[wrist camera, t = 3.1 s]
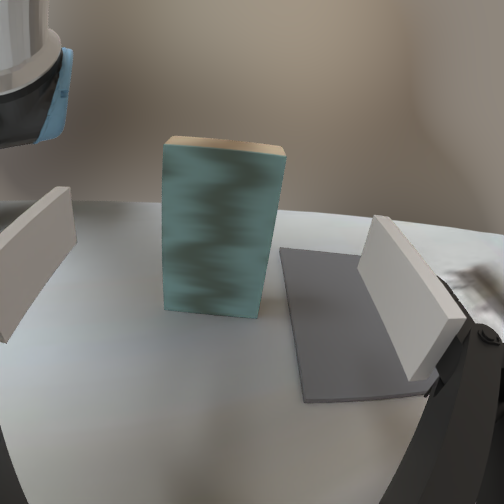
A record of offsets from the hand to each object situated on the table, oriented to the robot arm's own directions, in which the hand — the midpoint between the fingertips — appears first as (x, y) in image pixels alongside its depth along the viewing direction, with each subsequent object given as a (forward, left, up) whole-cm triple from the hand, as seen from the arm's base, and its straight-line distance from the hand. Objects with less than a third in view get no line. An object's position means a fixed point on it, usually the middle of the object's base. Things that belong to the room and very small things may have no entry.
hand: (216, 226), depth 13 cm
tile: (0, +10, -13) cm, 16 cm away
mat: (+15, +10, -13) cm, 22 cm away
